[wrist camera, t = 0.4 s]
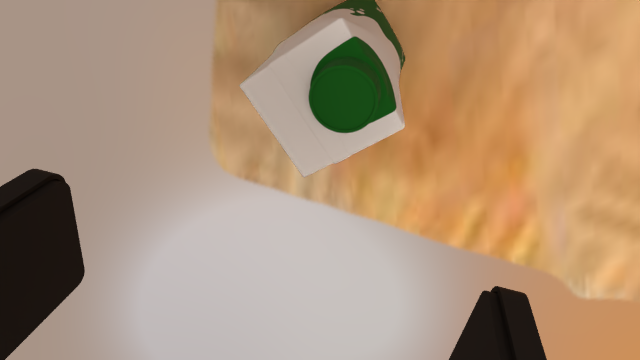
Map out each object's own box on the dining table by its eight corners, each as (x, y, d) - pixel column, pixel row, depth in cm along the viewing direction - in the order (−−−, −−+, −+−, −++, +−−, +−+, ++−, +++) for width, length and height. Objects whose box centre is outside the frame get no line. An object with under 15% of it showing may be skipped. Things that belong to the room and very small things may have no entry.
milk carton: (418, 61, 41) (418, 146, 24) (340, 105, 45) (292, 205, 28) (373, -23, 38) (337, 5, 21) (294, 31, 42) (209, 92, 25)
